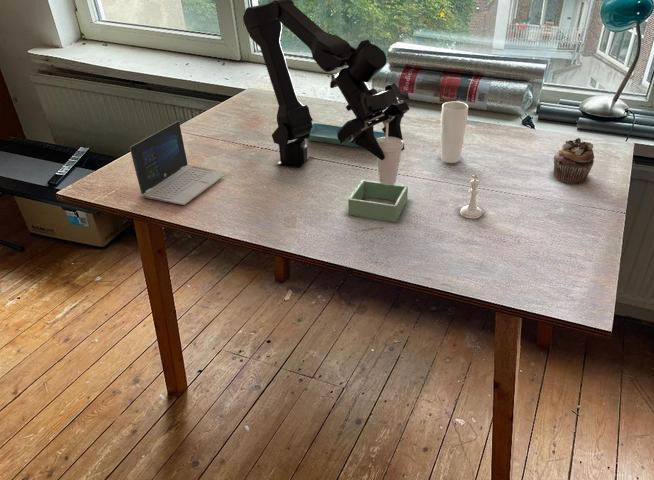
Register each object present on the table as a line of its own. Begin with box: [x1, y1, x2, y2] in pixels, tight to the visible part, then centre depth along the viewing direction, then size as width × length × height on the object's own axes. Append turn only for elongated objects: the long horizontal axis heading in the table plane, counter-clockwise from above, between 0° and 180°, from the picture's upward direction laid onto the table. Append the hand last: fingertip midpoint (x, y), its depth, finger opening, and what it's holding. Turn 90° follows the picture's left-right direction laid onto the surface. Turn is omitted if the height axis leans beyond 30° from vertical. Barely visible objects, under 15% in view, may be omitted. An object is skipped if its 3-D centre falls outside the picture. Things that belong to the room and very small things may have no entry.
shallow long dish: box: [306, 122, 386, 149], centre depth 164 cm, size 26×9×2 cm, turn 72°
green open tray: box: [347, 179, 409, 223], centre depth 132 cm, size 11×10×4 cm
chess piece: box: [459, 172, 483, 219], centre depth 128 cm, size 5×5×10 cm
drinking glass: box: [440, 100, 469, 164], centre depth 149 cm, size 7×7×15 cm
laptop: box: [129, 120, 228, 206], centre depth 138 cm, size 18×12×13 cm
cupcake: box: [553, 137, 595, 185], centre depth 142 cm, size 10×10×10 cm
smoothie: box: [376, 123, 404, 185], centre depth 127 cm, size 6×6×14 cm
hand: (393, 154), depth 126 cm, fingers closed on smoothie, 6 cm apart
